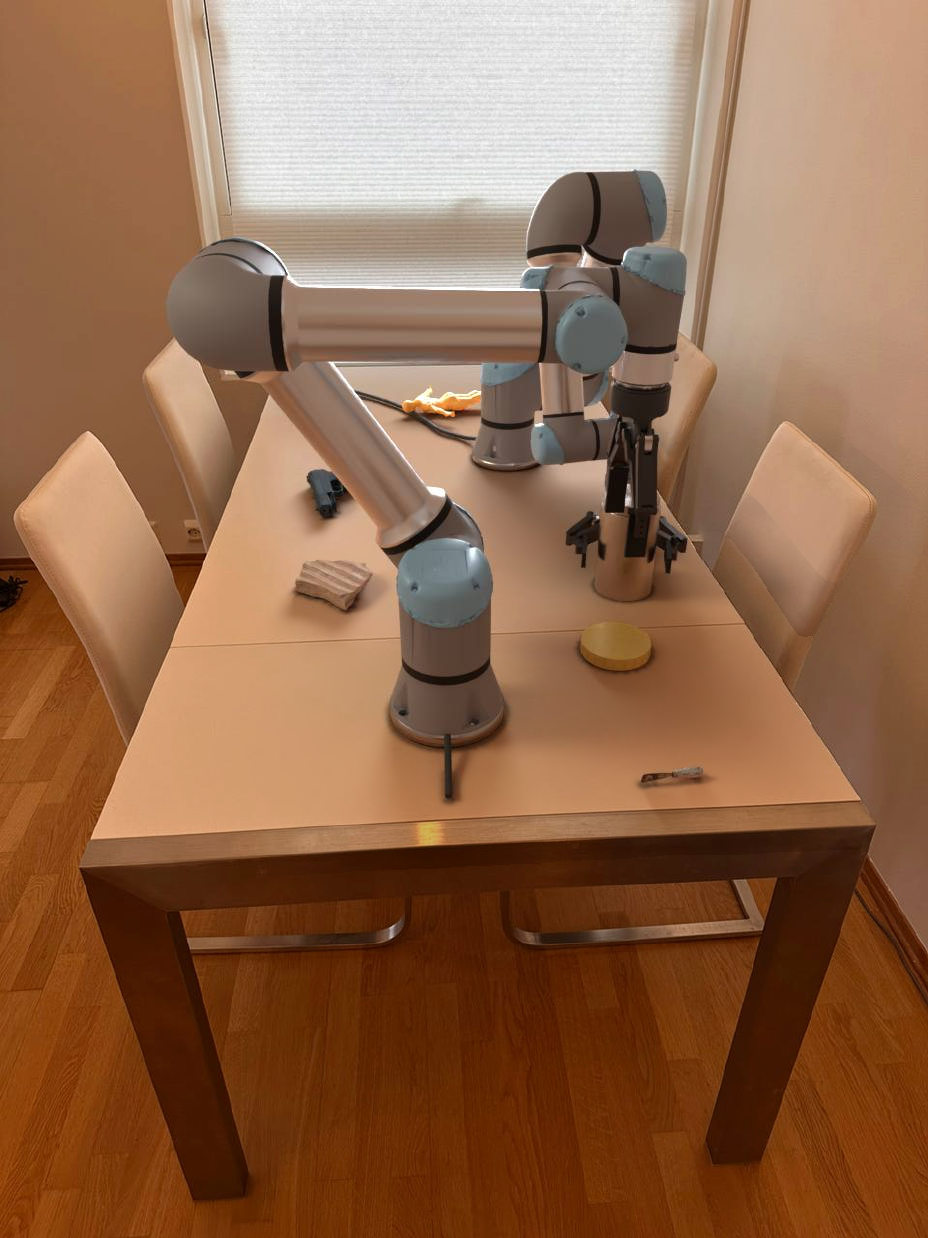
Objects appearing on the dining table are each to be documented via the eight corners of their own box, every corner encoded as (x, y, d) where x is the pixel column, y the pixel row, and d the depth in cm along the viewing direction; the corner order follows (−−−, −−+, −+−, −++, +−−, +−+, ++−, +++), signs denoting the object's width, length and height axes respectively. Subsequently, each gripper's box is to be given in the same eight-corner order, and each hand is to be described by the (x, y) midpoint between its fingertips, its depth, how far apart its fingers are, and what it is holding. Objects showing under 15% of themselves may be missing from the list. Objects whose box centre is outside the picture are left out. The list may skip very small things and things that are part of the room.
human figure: (395, 413, 223) (394, 398, 221) (438, 390, 237) (438, 375, 235) (462, 429, 215) (462, 413, 213) (502, 404, 229) (503, 388, 227)
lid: (580, 669, 129) (581, 658, 128) (579, 630, 138) (580, 619, 137) (652, 673, 129) (654, 661, 128) (647, 633, 137) (648, 623, 136)
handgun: (377, 512, 175) (316, 519, 172) (362, 476, 189) (305, 483, 186) (376, 497, 173) (315, 504, 171) (361, 462, 187) (303, 469, 185)
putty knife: (703, 777, 109) (705, 767, 109) (642, 788, 108) (644, 777, 107) (700, 772, 110) (702, 762, 109) (639, 782, 109) (640, 771, 108)
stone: (382, 577, 152) (381, 564, 151) (347, 611, 143) (346, 598, 142) (316, 564, 157) (314, 551, 155) (279, 596, 147) (277, 583, 146)
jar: (589, 596, 147) (596, 503, 138) (600, 569, 155) (607, 480, 146) (646, 605, 145) (657, 511, 136) (654, 577, 152) (665, 487, 143)
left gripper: (698, 413, 101) (673, 576, 113) (648, 352, 123) (631, 495, 134) (633, 414, 101) (614, 577, 112) (594, 353, 122) (582, 495, 133)
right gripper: (692, 530, 162) (701, 588, 144) (555, 522, 165) (547, 578, 147) (698, 492, 158) (708, 547, 140) (557, 484, 161) (549, 537, 143)
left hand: (623, 533), depth 123 cm, fingers open, 13 cm apart
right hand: (626, 563), depth 144 cm, fingers open, 13 cm apart
